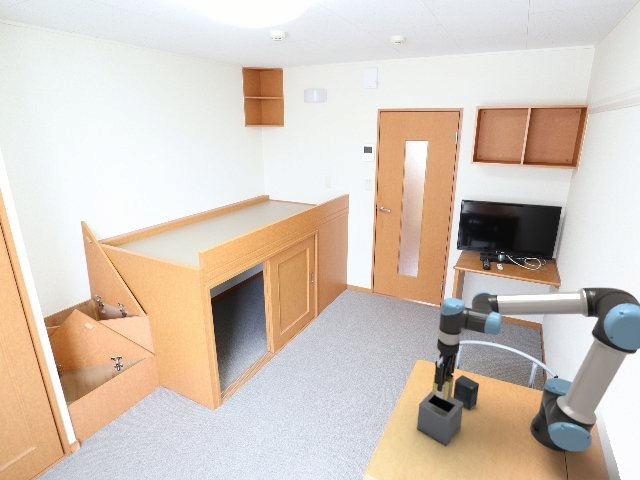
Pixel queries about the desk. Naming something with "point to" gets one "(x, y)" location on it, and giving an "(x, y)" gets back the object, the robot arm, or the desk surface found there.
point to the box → (466, 391)
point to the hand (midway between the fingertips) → (442, 394)
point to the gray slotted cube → (440, 418)
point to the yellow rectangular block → (448, 387)
